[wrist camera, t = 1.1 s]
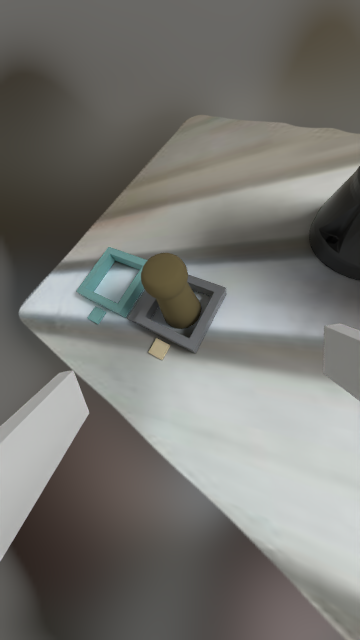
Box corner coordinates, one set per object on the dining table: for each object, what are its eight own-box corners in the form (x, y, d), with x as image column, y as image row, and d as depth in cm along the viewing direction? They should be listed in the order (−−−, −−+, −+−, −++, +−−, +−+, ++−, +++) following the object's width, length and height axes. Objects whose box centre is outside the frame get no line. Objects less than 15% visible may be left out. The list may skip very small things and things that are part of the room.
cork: (207, 320, 28) (196, 279, 19) (168, 334, 29) (138, 301, 19) (194, 287, 31) (178, 235, 21) (159, 300, 32) (127, 256, 22)
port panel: (114, 254, 38) (108, 246, 36) (226, 294, 29) (226, 287, 28) (73, 310, 35) (65, 305, 33) (185, 373, 26) (182, 371, 25)
